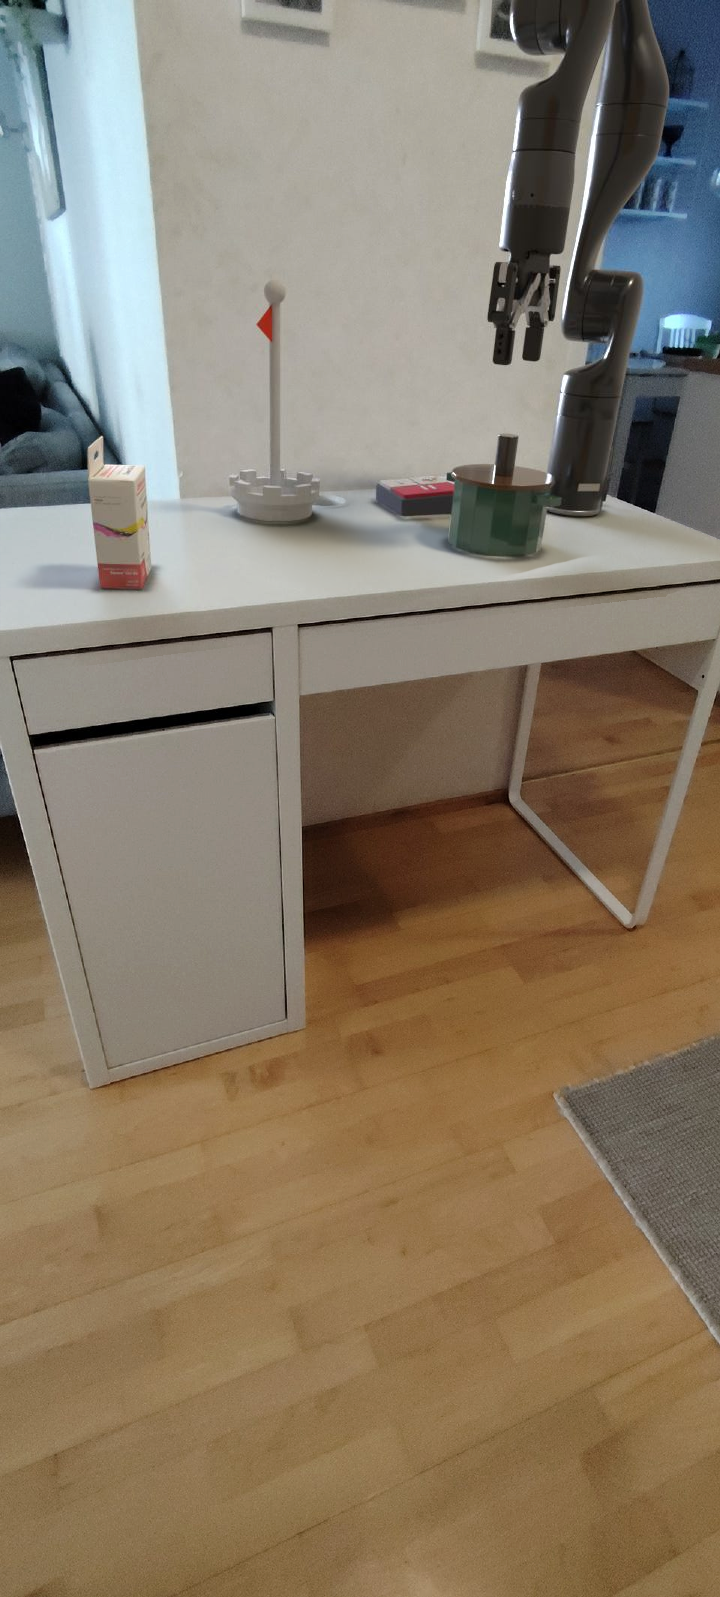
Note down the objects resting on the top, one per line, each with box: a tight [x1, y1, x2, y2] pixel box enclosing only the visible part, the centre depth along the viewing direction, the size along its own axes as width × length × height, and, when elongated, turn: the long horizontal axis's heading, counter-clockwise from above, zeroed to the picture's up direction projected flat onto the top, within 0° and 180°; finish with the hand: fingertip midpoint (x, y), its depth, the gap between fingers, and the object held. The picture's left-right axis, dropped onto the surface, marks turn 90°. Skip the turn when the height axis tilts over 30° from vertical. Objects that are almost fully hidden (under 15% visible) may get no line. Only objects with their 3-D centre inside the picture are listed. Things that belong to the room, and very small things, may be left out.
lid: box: [451, 433, 555, 491], centre depth 110 cm, size 14×14×6 cm
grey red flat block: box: [375, 475, 454, 517], centre depth 132 cm, size 11×4×15 cm
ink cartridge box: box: [87, 435, 153, 590], centre depth 93 cm, size 9×5×15 cm, turn 5°
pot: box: [446, 471, 561, 558], centre depth 114 cm, size 13×18×9 cm
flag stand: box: [229, 278, 321, 522], centre depth 117 cm, size 13×13×30 cm
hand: (516, 362), depth 105 cm, fingers open, 8 cm apart
